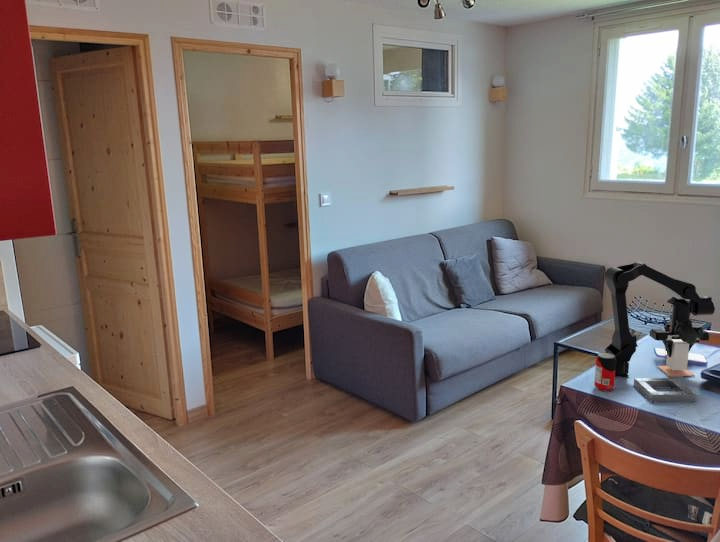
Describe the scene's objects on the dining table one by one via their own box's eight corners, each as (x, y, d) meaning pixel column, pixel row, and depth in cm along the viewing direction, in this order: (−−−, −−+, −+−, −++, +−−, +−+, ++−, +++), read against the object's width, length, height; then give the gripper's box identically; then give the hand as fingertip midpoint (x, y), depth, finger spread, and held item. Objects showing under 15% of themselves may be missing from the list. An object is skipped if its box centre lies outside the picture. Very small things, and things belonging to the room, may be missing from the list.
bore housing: (651, 401, 184) (652, 394, 183) (633, 385, 197) (634, 378, 197) (695, 402, 183) (696, 394, 183) (674, 385, 197) (675, 378, 196)
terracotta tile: (668, 376, 204) (669, 375, 204) (657, 367, 213) (657, 366, 213) (694, 376, 203) (695, 375, 203) (682, 367, 212) (682, 366, 212)
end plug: (672, 370, 205) (675, 343, 203) (665, 365, 210) (668, 339, 208) (686, 370, 205) (689, 343, 203) (679, 365, 210) (682, 339, 208)
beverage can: (615, 392, 191) (617, 359, 189) (595, 391, 193) (597, 357, 191) (612, 385, 197) (615, 352, 195) (593, 383, 199) (595, 351, 197)
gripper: (664, 322, 196) (660, 365, 200) (720, 322, 195) (715, 365, 198) (650, 313, 207) (647, 354, 210) (703, 313, 206) (699, 354, 209)
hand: (677, 357), depth 207 cm, fingers closed on end plug, 5 cm apart
